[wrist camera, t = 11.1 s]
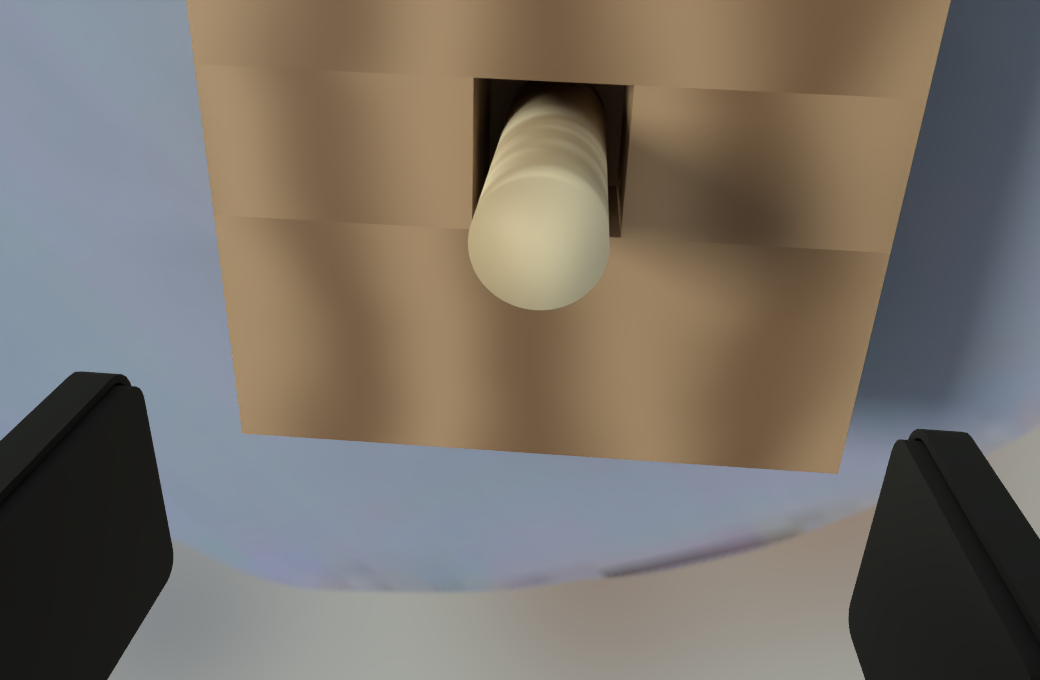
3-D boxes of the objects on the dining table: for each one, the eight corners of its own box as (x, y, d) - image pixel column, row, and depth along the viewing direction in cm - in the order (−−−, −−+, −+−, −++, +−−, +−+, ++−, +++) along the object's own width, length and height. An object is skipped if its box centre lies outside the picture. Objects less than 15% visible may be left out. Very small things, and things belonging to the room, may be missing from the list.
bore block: (923, -221, 26) (1010, -248, 20) (799, 383, 35) (837, 474, 29) (239, -242, 27) (150, -274, 21) (294, 351, 36) (242, 433, 30)
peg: (608, 72, 29) (614, 182, 19) (601, 168, 30) (604, 314, 21) (510, 68, 29) (467, 175, 19) (508, 164, 31) (468, 306, 21)
